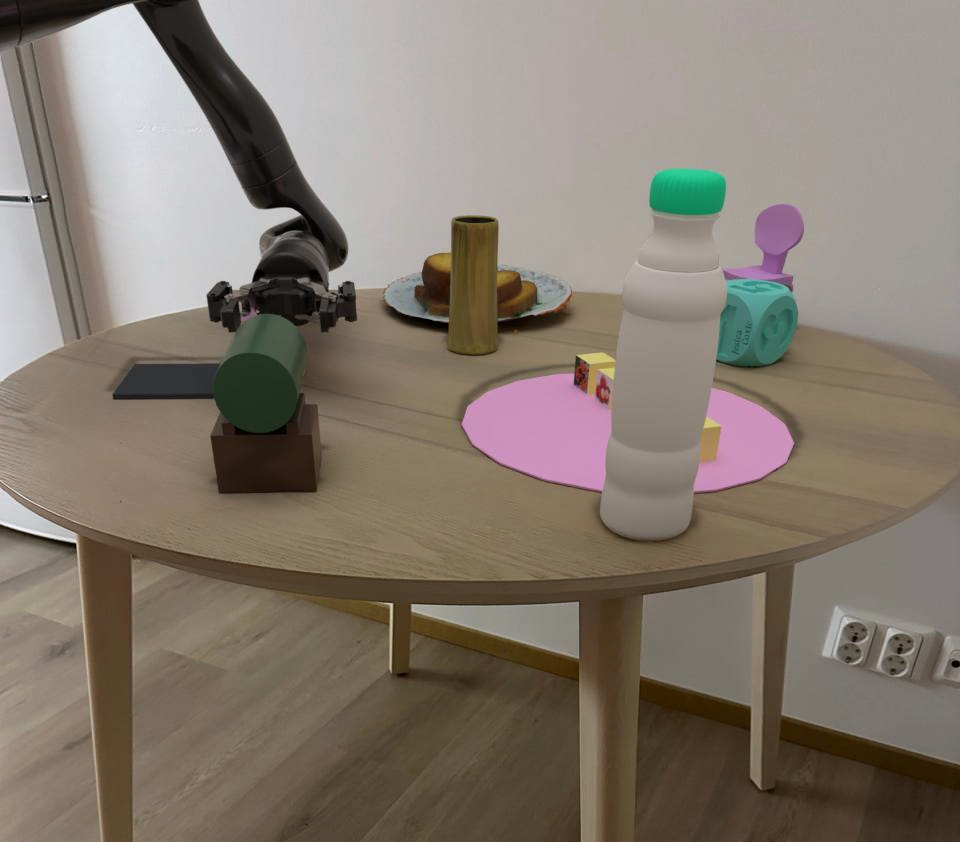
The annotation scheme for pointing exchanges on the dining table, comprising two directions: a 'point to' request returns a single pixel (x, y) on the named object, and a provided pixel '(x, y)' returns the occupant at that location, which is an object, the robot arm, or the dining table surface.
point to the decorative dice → (756, 322)
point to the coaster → (168, 381)
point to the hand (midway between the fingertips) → (277, 321)
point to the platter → (587, 426)
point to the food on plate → (515, 292)
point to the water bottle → (665, 360)
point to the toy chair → (773, 245)
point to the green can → (261, 374)
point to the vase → (473, 285)
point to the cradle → (269, 454)
